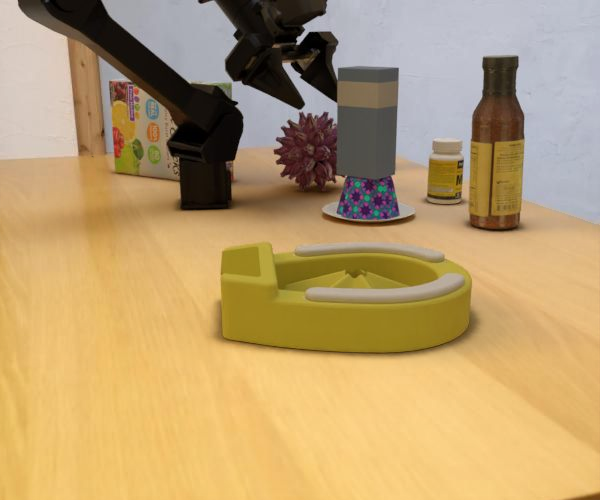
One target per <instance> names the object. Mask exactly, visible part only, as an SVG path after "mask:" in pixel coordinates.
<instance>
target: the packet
mask: <svg viewBox="0 0 600 500" xmlns="http://www.w3.org/2000/svg"><path fill="white" fill-rule="evenodd" d="M399 77H400V67H394V66H392V67H391V66H366V65H354V66H342V67H337V80H338V81H337V103H336V108H337V109H336V124H337V175H344V176H345V177H347V176H352V177H359V178H366V179H373V180H377V179H381V178H384V177H388V176H391V177H393V176H395V175H396V163H397V162H396V161H397V135H398V134H397V132H398V131H397V130H398V107H399V106H398V105H399V85H400V84H399V82H400V81H399V79H400V78H399Z"/></svg>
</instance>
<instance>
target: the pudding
mask: <svg viewBox="0 0 600 500" xmlns="http://www.w3.org/2000/svg"><path fill="white" fill-rule="evenodd" d="M394 183H395V182H394V179H393V176H388V177H384V178H381V179H377V180H373V179H366V178H359V177H352V176H345V178H344V182H343V185H342V190H341V193H340V196H339V197H340V198H339V200H337V201H333V202H330V203H327V204H324V205H323V206H322V207H321V210H322V212H323V213H325V214H326V215H328V216H331V217H334V218H338V219H342V220H346V221H349V222H350V221H351V222H355V223H356V222H358V223H383V222H384V223H385V222H390V221H394V220H400V219H403V218H407V217H409V216H412V215H413V214H416V208H415V207H414V206H413V205H410V204H408V203H404V202H400V201H398V200H397V199H398V198H397V194H396V188H395V184H394Z"/></svg>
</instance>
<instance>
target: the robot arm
mask: <svg viewBox="0 0 600 500" xmlns="http://www.w3.org/2000/svg"><path fill="white" fill-rule="evenodd" d="M328 1H329V0H197V3H198V4H199V5H202V4H206V3H209V2H215V4H216V5H217V6H218V7H219V9H220V10H221V11H222V13H223V14H224V16H225V17H226V18H227V19H228V20H229V22H230V23H231V24H232V26H233V27H234V29H235V32H234V33H233V34H232V36H233V37H234V39H235V40H236V41H237V42H236V44H235V45H234V46H233V47H232V49H231V50H230V52H229V53H228V55H227V56H226V57H225V59H224V71H225V72H226V74H227V75H228V77H229V78H230V79H231V80H232V82H233V83H236V82H237V83H238V82H241V85H243V86H247V87H251V88H253V89H255V90H257V91H259V92H262V93H263V94H266V95H267V96H270V97H272V98H274V99H276V100H278V101H280V102H282V103H284V104H286V105H288V106H290V107H292V108H294V109H296V110H298V111H301V110H303V108H304V107H305V106H306V102H305V100H304V98H303V97H302V95H301V92H300V91H299V89H298V88H297V86H296V85H295V84H294V82H293V80H292V79H291V76H290V75H289V74H288V72H287V70H286V69H285V68H284V64H288V63H289V64H290V67H291V68H292V69H293V70H294V71H295V72H296V73H297V74H299V78H300V80H302V81H304V82H305V83H307V84H308V86H311V87H313V88H314V89H315V90H317V91H318V92H320V93H321V94H322V95H324V96H325V97H326V98H328V99H329V100H331V101H333V102H334V103H336V104H337V81H338V76H337V75H336V72H335V68H334V65H333V58H334V54H335V53H336V52H337V47H338V46H339V42H340V41H339V39H338V38H336V36H335V35H334V34H333V32H332V31H330V30H329V31H328V30H327V31H323V30H322V31H321V30H320V31H319V30H317V31H309V32H307V34H306V35H305V36H304V37H303V39H302V40H301V41H300V43H299V44H297V43H298V38H299V37H302V35H303V33H305V31H306V28H305V27H304V25H307V24H308V23H309V22H311V21H313V20H315V19H317V18H318V17H323V16H324V15H325V14H327V7H328V4H327V2H328ZM17 6H18V8H19V9H20V11H21V13H23V14H24V15H25V16H26V17H27V18H28V19H30V20H32V21H34V22H36V23H37V24H39V25H41V26H42V27H45V28H47V29H48V30H51V31H52V32H55V33H57V34H59V35H62V36H64V37H66V38H69V39H71V40H73V41H77V42H79V43H80V44H82V45H84V46H85V47H87V48H88V49H89V50H91V51H92V53H95V55H97V56H98V57H99V58H101V59H102V60H103V61H104V62H106V63H107V64H108V65H109V66H111V67H112V68H114V69H115V70H116V71H117V72H119V73H120V74H121V75H123V76H124V77H125V78H126V79H129V80H130V81H132V82H133V83H134V84H135V85H137V86H138V87H139V88H141V89H142V90H143V91H144V92H146V93H147V94H148V95H150V96H151V97H152V98H153V99H155V100H156V101H157V102H159V103H160V104H161V105H162V106H164V107H165V108H166V109H167V110H168V111H169V113H170V115H171V118H172V120H173V122H174V124H175V125H176V126H177V129H176V130H175V131H174V133H173V134H172V136H171V137H170V138H169V140H168V141H167V143H166V144H167V147H168V150H169V152H170V155H171V156H172V157H179V176H180V180H179V193H180V200H179V209H182V210H183V209H184V210H188V209H190V210H191V209H223V208H226V209H227V208H229V207H230V202H232V200H233V194H232V193H233V192H232V191H233V190H232V181H231V169H230V168H229V167H226V162H228V161H233V162H234V161H235V160H236V158H237V153H238V149H239V145H240V143H241V142H240V141H241V138H242V136H243V134H244V119H245V117H244V115H243V112H242V111H241V110H240V109H239V108H238V107H237V106H238V105H239V101H237V100H233V98H232V99H230V98H229V97H228V96H227V95H226V94H225V93H224V92H223V90H222V89H221V88H219V87H218V86H217V85H207V84H197V83H191V84H190V83H189V82H188V81H186V80H187V79H186V78H185V77H184V76H182V75H180V74H179V73H178V72H177V71H176V70H175V69H174V68H172V66H170V65H169V64H167V62H165V61H164V60H163V59H161V58H160V57H159V56H158V55H157V54H155V53H154V52H153V51H152V50H151V49H149V48H148V47H147V46H146V45H145V44H144V43H142V42H141V41H140V40H138V39H137V38H136V37H135V36H134V35H133V34H132V33H130V32H129V31H128V30H127V29H125V28H124V27H123V26H122V25H121V24H119V23H118V22H117V21H116V20H114V19H113V17H111V15H110V14H109V12H108V10H107V8H106V6H105V4H104V2H103V0H17Z"/></svg>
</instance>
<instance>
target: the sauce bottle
mask: <svg viewBox="0 0 600 500" xmlns="http://www.w3.org/2000/svg"><path fill="white" fill-rule="evenodd" d="M519 58H520V57H519V55H517V54H501V55H499V54H497V55H494V54H493V55H484V56H482V62H481V68H482V70H483V81H482V90H481V94H482V95H481V96H482V97H481V99H480V101H479V102H478V104H476V105H477V106H475V108H474V110H473V112H472V116H471V117H472V118H471V138H470V149H469V150H470V151H469V186H468V190H469V191H468V214H469V222H470V224H471V225H472V226H474V227H476V228H482V229H486V230H508V229H513V228H515V227H517V226H518V225H520V222H521V212H522V202H523V201H522V200H523V199H522V198H523V182H524V181H523V178H524V161H525V160H524V159H525V140H526V139H525V113H524V111H523V109H522V106H521V105H520V102H519V99H518V96H517V88H516V87H517V73H518V72H517V71H518V69H519V65H520V64H519V62H520V60H519Z"/></svg>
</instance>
